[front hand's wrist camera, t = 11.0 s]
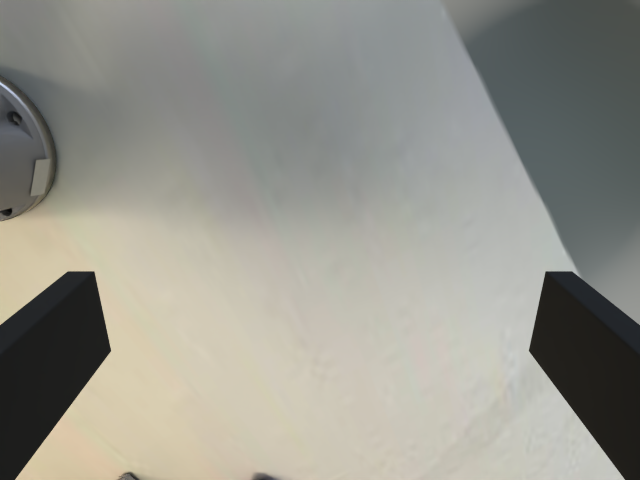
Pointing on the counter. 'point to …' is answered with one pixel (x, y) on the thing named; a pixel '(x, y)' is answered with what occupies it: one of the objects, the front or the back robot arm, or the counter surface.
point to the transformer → (127, 477)
